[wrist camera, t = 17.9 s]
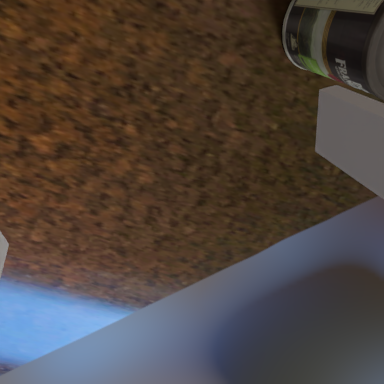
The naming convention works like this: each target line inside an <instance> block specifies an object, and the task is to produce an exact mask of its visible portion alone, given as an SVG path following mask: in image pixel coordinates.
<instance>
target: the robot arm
mask: <svg viewBox="0 0 384 384" xmlns="http://www.w3.org/2000/svg"><path fill="white" fill-rule="evenodd" d="M315 151H316V152H317V153H318V154H320V155H321V156H323V157H324V158H326V159H327V160H328V161H330V162H331V163H333V164H334V165H336V166H337V167H338V168H340V169H341V170H343V171H344V172H346V173H347V174H348V175H350V176H351V177H353V178H354V179H356V180H357V181H358V182H360V183H361V184H363V185H364V186H366V187H367V188H368V189H370V190H371V191H373V192H374V193H376V194H377V195H378V196H380V197H381V198H383V199H384V103H381V102H379V101H376V100H373V99H371V98H368V97H366V96H363V95H361V94H358V93H355V92H353V91H350V90H348V89H345V88H343V87H340V86H338V85H335V86H331V87H328V88H324V89H320V90H319V103H318V118H317V133H316V147H315ZM8 246H9V244H8V242H7V241H6V239H5V238H4V236H3V235H2V233H1V232H0V277H1V274H2V270H3V266H4V262H5V258H6V254H7V250H8Z"/></svg>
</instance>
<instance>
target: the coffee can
mask: <svg viewBox="0 0 384 384" xmlns="http://www.w3.org/2000/svg"><path fill="white" fill-rule="evenodd" d="M282 41H283V46H284V50H285V52H286V54H287V56H288V58H289V59H290V61H291V62H292V63H293V64H294V65H296V66H297V67H299V68H301V69H305V70H309V71H312V72H314V73H317V74H320V75H323V76H325V77H328V78H331V79H334V80H336V81H339V82H342V83H344V84H347V85H350V86H352V87H355V88H358V89H361V90H363V91H366V92H369V93H371V94H374V95H375V96H376V97H378V98H380V99H383V100H384V0H292V1H291V3H290V5H289V7H288V10H287V12H286V15H285V18H284V22H283V29H282Z"/></svg>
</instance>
